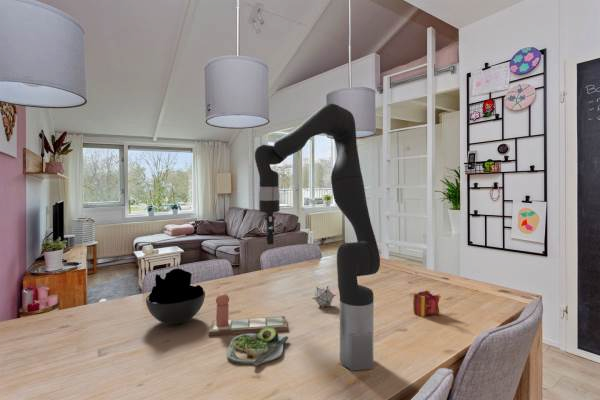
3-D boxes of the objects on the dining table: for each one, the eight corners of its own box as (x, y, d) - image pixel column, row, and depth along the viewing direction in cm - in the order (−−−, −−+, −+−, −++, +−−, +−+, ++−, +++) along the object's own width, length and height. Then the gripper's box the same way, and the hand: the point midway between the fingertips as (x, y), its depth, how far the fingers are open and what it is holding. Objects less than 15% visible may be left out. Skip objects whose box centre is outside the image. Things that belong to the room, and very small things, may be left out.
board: (287, 330, 111) (287, 325, 111) (208, 336, 108) (208, 331, 108) (285, 320, 120) (285, 315, 120) (212, 324, 117) (212, 320, 117)
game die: (327, 316, 133) (333, 302, 127) (308, 308, 134) (313, 293, 128) (333, 300, 140) (339, 285, 134) (315, 292, 141) (320, 277, 135)
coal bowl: (203, 308, 132) (202, 262, 132) (208, 328, 114) (207, 274, 113) (148, 316, 125) (147, 267, 124) (144, 338, 107) (142, 281, 106)
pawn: (228, 327, 111) (228, 295, 110) (214, 327, 110) (215, 295, 110) (229, 321, 115) (229, 291, 115) (216, 322, 115) (216, 291, 114)
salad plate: (285, 371, 87) (285, 354, 87) (218, 371, 88) (218, 354, 88) (289, 338, 107) (289, 324, 107) (234, 338, 107) (234, 324, 107)
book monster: (429, 308, 131) (450, 322, 119) (409, 311, 129) (428, 325, 117) (430, 282, 130) (451, 293, 118) (409, 284, 128) (428, 296, 116)
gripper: (281, 199, 116) (281, 245, 117) (278, 198, 130) (278, 239, 131) (259, 199, 115) (260, 246, 116) (258, 198, 129) (259, 239, 130)
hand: (269, 242), depth 123 cm, fingers open, 8 cm apart
